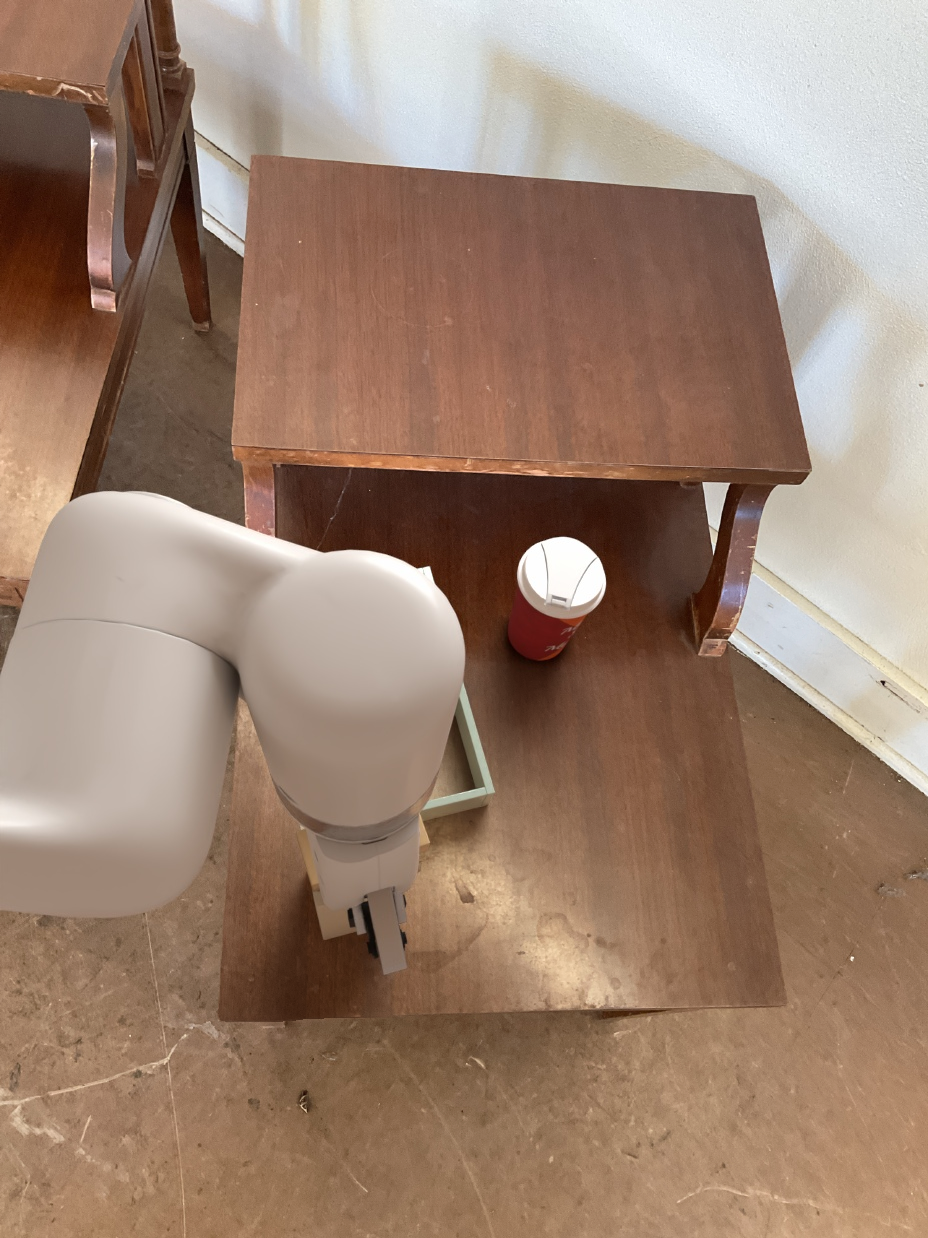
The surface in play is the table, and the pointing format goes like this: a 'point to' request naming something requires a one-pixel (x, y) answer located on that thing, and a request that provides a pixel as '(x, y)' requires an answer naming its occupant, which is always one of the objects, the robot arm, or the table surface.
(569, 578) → the paper cup
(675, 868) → the table surface
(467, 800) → the divided tray
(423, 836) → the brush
